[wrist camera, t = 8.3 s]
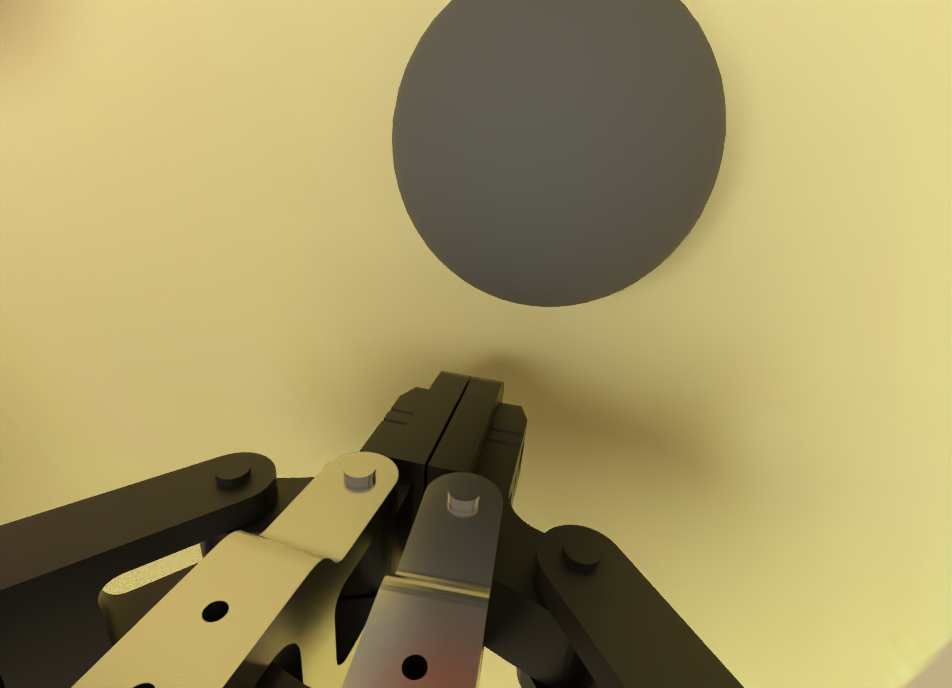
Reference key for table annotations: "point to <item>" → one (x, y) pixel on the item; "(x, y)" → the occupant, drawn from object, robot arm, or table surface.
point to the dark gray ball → (558, 142)
